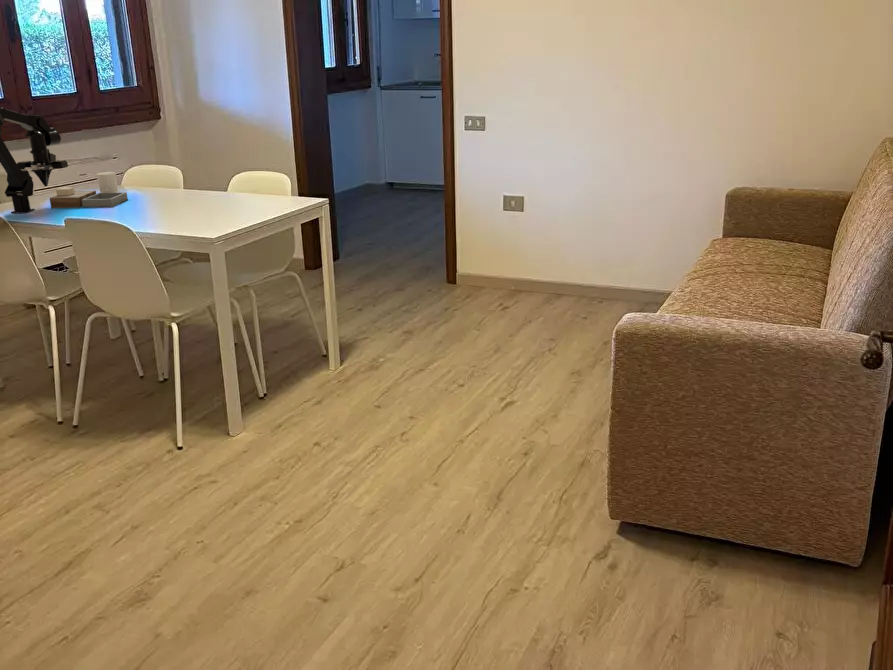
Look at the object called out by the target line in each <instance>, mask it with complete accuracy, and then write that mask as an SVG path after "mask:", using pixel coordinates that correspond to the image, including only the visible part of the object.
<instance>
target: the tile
mask: <svg viewBox="0 0 893 670" xmlns="http://www.w3.org/2000/svg"><path fill="white" fill-rule="evenodd" d="M74 191H75V188H74V187H73V186H72V187H71V186H70V187H69V186H67V187H64V186H63V187H59V188H57V189H56V190H55V192H56V195H57V196H65V195H71V194H74Z"/></svg>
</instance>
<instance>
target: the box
mask: <svg viewBox="0 0 893 670" xmlns="http://www.w3.org/2000/svg"><path fill="white" fill-rule="evenodd" d="M127 200H128V193H127V191H124V192H123V191H122V192H119V191H118V193H101V192H98V193H97V192H96V194H95V195H92V196H90V197H87V198H85V199H83V200H82V205H83V206H82V208H106V207H107V208H108V207H109V208H111V207H114V206H117V205H119V204H121V203H123V202H125V201H127Z"/></svg>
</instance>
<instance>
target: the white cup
mask: <svg viewBox="0 0 893 670" xmlns="http://www.w3.org/2000/svg"><path fill="white" fill-rule="evenodd" d="M96 180H97V184H98V188H99V193H119V191H118V182H117V181H118V180H117V172H115V171H107V172H105V171H104V172H98V173H96Z"/></svg>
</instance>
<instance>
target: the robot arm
mask: <svg viewBox="0 0 893 670" xmlns="http://www.w3.org/2000/svg"><path fill="white" fill-rule="evenodd" d="M4 121H6V122H9V123H13V124H17V125H20V126H21V128H23V129H25V130H27V132H26V133H25V135H24V137H26V138H29V143H30V148H31V150H30V154H31V155H32V160H21V161H18V162H16V160H15V158H14V156H13V155H12V153H11V152H10V150H9V148H8V147H7V145H6V143H5V142H4V140H3V138H2V128H1V127H2V126H3V125H4ZM61 140H62V138H61V135H60V133H59V132H58V131H57V130H56V127H50V125H49V124H48V122H47V121H46V120H45V118H44V116H42V115H40V114H38V115H36V114H25V113H22V112H18V111H13V110H11V109H7V108H4V107H2V106H1V107H0V165H1V166H2V168H3V169H4V171H5V173H6V181H7V187H6V189H5V191H4V194H5V196H6V197H7V198H9V197H10V198H11V200H12V205H13V209H14V210H12V211H10V213H11V214H26V213H29V212H33V211H35V208H31V202H30V199H29V197H31V196H33V195H34V180H33V177H32V176H31V174H30V172H29V171H28V170H27V169H28V168H31V172H33V173H34V174H35V175H36V176H37V178H38V179H39V180H40V182H41V183H42V185H43V186H44V187H48V186H49V179H50V176H51V173H52V171H53V170H56V169H58V170H60V169H64V168H67V167H69V165H68V162H67V160H65V159H57V156H56V154H53V153H51V152H50V149H49V148H48V146H49V147H50V146H54V145H58V144H60V143H61ZM26 168H27V169H26Z"/></svg>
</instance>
